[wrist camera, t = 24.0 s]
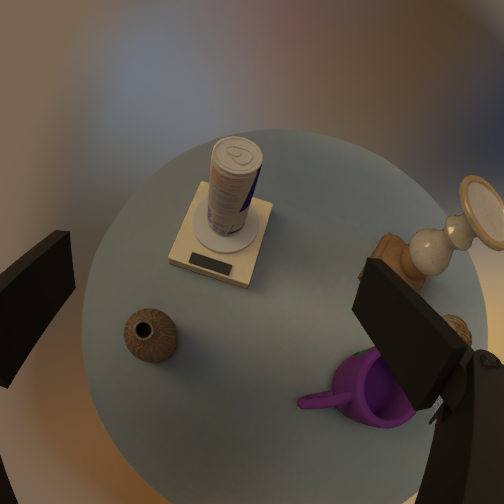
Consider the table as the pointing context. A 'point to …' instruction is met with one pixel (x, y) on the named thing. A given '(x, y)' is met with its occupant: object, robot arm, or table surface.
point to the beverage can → (232, 183)
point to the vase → (150, 335)
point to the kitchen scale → (220, 242)
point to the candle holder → (447, 235)
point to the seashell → (459, 327)
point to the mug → (364, 392)
